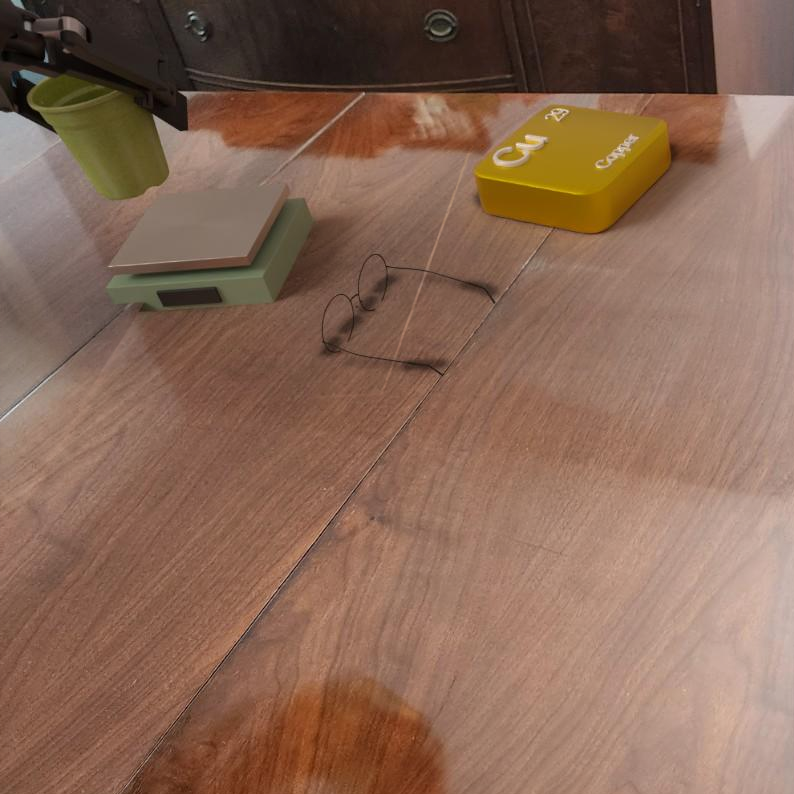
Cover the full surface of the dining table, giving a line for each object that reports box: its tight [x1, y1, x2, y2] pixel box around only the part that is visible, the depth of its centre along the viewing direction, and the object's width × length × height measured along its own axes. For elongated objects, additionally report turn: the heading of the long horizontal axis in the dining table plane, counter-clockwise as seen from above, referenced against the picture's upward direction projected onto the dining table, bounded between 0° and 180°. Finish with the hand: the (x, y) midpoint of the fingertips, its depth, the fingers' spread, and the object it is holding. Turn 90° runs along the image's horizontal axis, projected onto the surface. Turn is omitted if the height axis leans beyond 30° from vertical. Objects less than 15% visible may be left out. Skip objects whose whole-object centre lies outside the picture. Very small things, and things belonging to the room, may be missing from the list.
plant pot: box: [27, 74, 170, 201], centre depth 91 cm, size 9×9×9 cm
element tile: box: [472, 103, 672, 234], centre depth 110 cm, size 15×15×5 cm
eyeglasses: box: [321, 253, 497, 377], centre depth 97 cm, size 11×13×5 cm
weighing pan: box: [107, 182, 291, 277], centre depth 108 cm, size 14×13×1 cm
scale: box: [105, 197, 315, 313], centre depth 109 cm, size 16×14×4 cm
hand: (128, 119), depth 94 cm, fingers closed on plant pot, 9 cm apart
